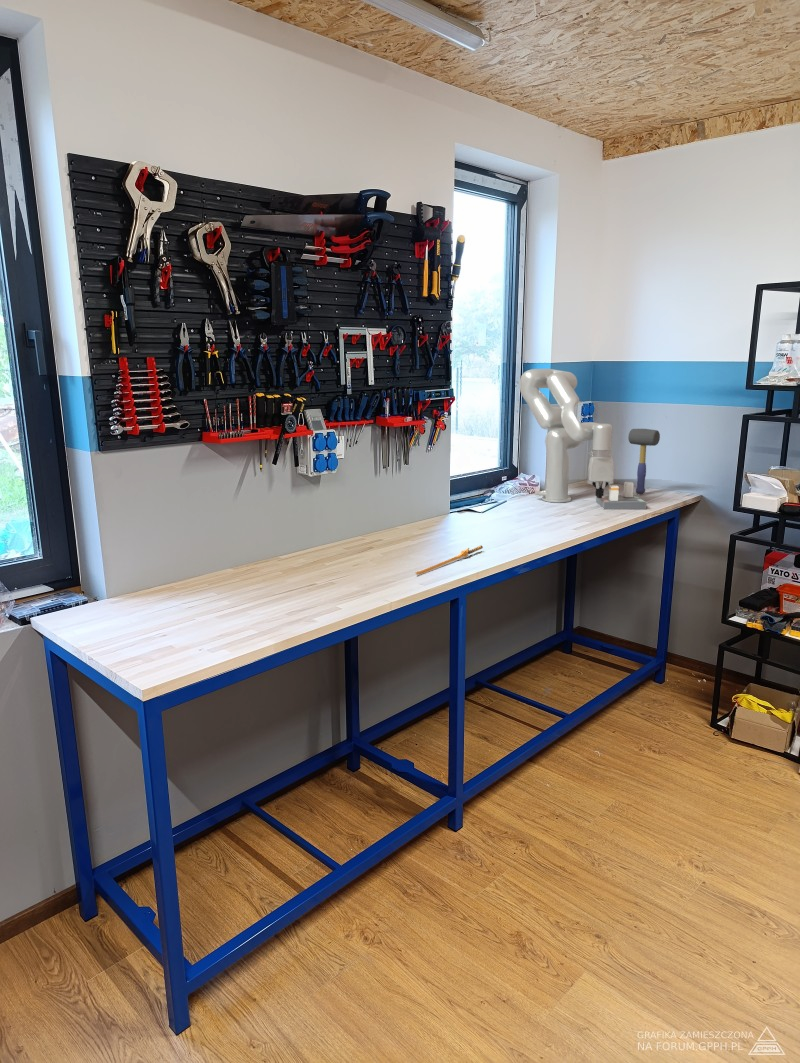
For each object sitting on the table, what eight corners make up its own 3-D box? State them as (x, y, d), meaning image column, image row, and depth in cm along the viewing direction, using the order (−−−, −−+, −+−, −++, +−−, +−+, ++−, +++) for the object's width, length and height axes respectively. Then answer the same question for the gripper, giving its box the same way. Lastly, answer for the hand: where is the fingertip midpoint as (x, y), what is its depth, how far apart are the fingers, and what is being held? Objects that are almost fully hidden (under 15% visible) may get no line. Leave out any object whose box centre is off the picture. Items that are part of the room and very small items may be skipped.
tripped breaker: (610, 500, 299) (611, 486, 298) (608, 499, 303) (609, 484, 302) (618, 500, 299) (618, 486, 297) (615, 499, 303) (616, 484, 301)
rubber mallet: (623, 494, 331) (627, 428, 324) (631, 491, 336) (635, 427, 329) (649, 497, 323) (654, 430, 316) (656, 495, 328) (661, 428, 321)
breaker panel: (604, 509, 298) (605, 487, 296) (596, 501, 314) (597, 481, 311) (645, 509, 297) (647, 487, 295) (635, 502, 312) (637, 481, 310)
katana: (413, 579, 209) (413, 571, 208) (479, 550, 235) (479, 542, 234) (417, 580, 208) (417, 571, 207) (482, 551, 234) (482, 543, 233)
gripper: (584, 455, 294) (582, 499, 298) (622, 455, 293) (619, 499, 297) (581, 453, 301) (579, 496, 305) (617, 452, 300) (615, 496, 304)
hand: (599, 497), depth 301 cm, fingers closed
